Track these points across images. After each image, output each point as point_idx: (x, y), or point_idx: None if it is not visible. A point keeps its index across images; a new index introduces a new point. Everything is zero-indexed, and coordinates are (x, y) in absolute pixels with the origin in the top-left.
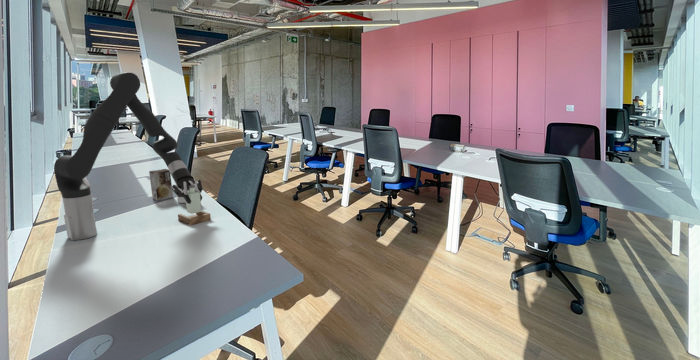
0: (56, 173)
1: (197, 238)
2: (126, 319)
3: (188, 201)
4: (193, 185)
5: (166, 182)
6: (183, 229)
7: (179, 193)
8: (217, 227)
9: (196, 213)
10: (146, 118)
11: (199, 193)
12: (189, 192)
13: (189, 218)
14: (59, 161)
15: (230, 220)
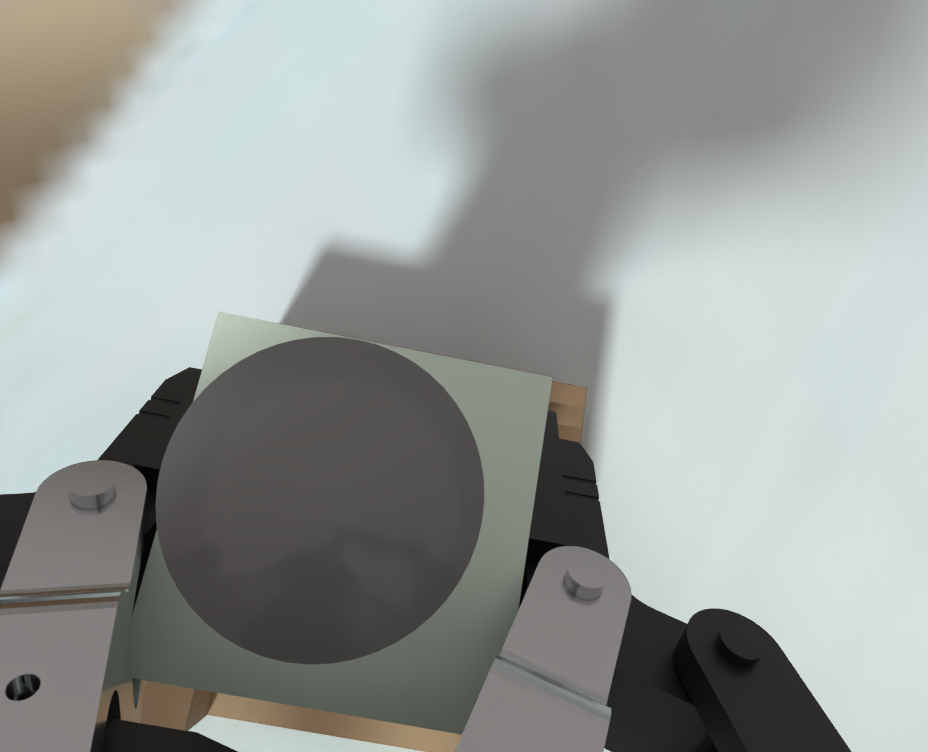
0: None
1: (775, 21)
2: None
3: (562, 451)
4: (235, 453)
5: None
6: (702, 360)
7: (793, 678)
8: (445, 70)
9: (204, 706)
10: None
11: (237, 323)
12: (351, 675)
13: (574, 409)
14: None
15: (172, 108)
